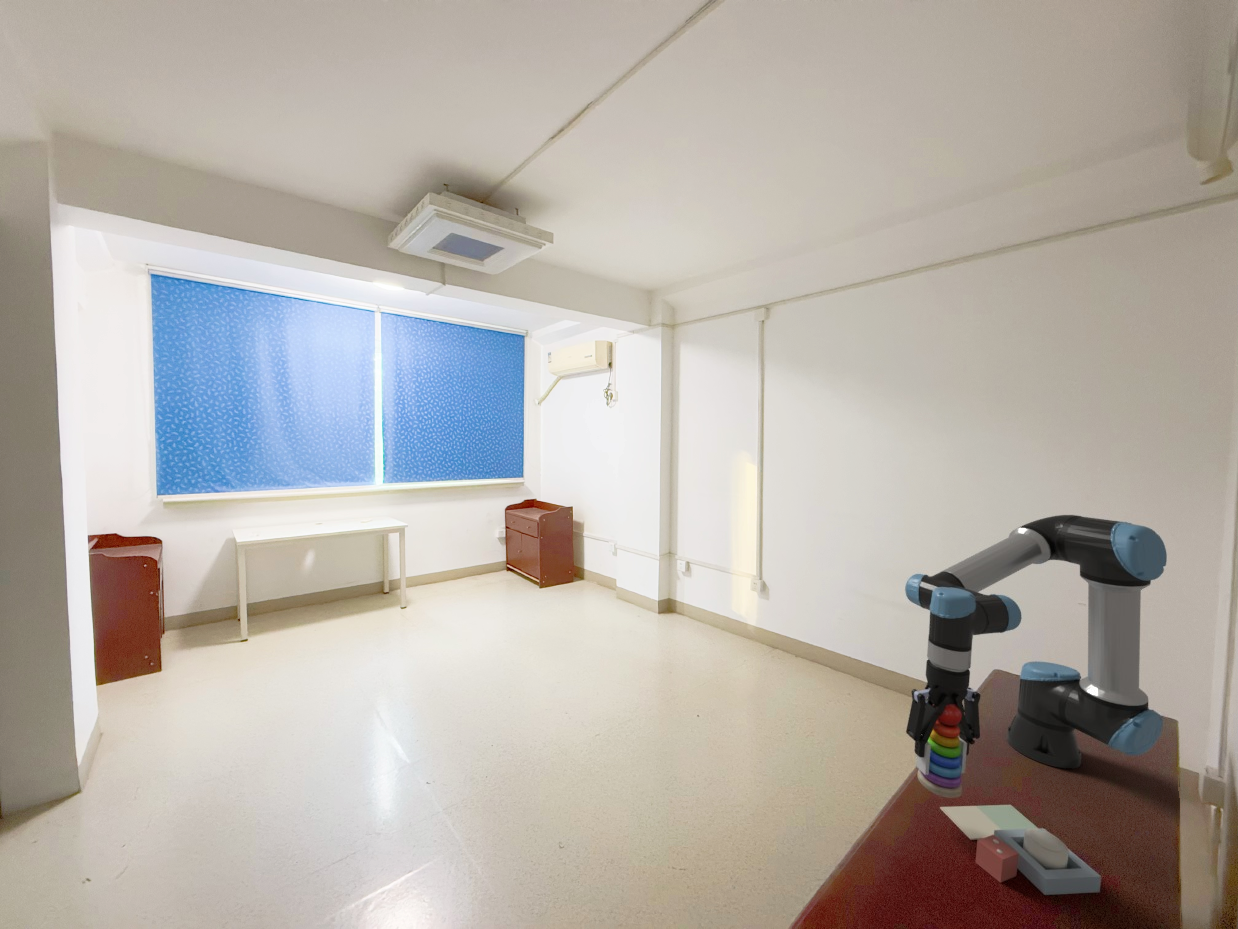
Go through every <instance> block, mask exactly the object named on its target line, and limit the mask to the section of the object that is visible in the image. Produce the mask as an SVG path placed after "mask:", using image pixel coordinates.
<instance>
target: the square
mask: <svg viewBox="0 0 1238 929" xmlns="http://www.w3.org/2000/svg"><path fill="white" fill-rule="evenodd" d="M976 806H977V805H963V806H961V805H959V806H958V805H957V806H956V805H955V806H940V807H939V809H940V810H941V811H942V812H943V813H944V814H945V815H946V816H947V817H948V818H949V819H950V821H951V822H953V823H954V824H955V825H956V826H957V828H959V830H960V831H961V832H963V833H964V835H965V836H966V837H968V839H969V840H970V841H972V840H973V841H975V840H977V841H978V840H980V839H983V838H985V837H988V836H991V835H994V830H1001V829H1000V828H999V827H998V826H997V825H996V824H995V823H994V822H992V821H991V820H990V819H989V818H988V817H987V816H986V815H985V814H984V813H983V812H982V811H981V810H979V809H978V808H977V807H976Z"/></svg>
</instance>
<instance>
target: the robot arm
mask: <svg viewBox="0 0 1238 929" xmlns="http://www.w3.org/2000/svg"><path fill="white" fill-rule="evenodd" d="M1167 554H1168V553H1167V549H1166V546H1165V543H1164V541H1163V539H1162V537H1161V536H1160V535H1159V534H1158V533H1157V532H1156V531H1155V530H1153V528H1150V527H1147V526H1145V525H1139V524H1133V523H1131V522H1127V521H1118V520H1112V519H1111V520H1110V519H1104V518H1095V517H1087V516H1082V515H1076V514H1060V515H1052V516H1049V517H1048V516H1047V517H1044V518H1040V519H1037V520H1034V521H1031V522H1027V523H1025V524H1023V525H1021V526H1018V527H1017V528H1014V529H1013V530H1012V531H1011V532H1010V533H1009V535H1008V537H1006V538H1005V539H1002V540H1001V541H999V542H997V543H994V544H992V545H991V546H989V547H987V548H985V549H983V550H981V551H979V552H977V553H975V554H973V555H971V556H969V557H967V558H965V559H963V560H961V561H959V562H957V563H956V564H954V565H951V566H949V567H948V568H945V569H943V570H941V571H939V572H938V573H935V574H934V575H931V576H929V575H928V574H923V573H922V574H921V573H914V574H912V575H911V576H910V577H909V578H907V581H906V583H905V587H904V592H905V596H906V598H907V599H908V600H909V602H911V603H913V604H915V605H916V606H919V607H920V608H922V609H925V610H928V611H929V626H928V628H929V629H928V638H927V654H926V657H927V660H926V664H925V665H926V666H925V667H926V668H925V678H926V680H927V681H926V682H927V683H926V686H924V689H922V690H917V689H916V688H913V689H911V698H912V701H911V705H910V711H909V716H908V721H907V726H906V731H905V733H906V734H907V736H909V737H910V738H911V739H912V740H913V741H914V753H915V755H916V764H915V765H916V766H915V767H916V768H917V769H918V770H919V769H920V770H921V771H922V772H923V773H924V774H925V775H929V762H930V749H931V744H929V743H928V742H927V741H928V739H929V737H930V735H931V732H932V730H933V728H934V726H935V724H936V721H937V719H938V717H939V715H942V713H943V711H944V709H945V707H946V705H949V704H955V705H956V706H957V708H958V709H959V710H960V711H961V713H962V718H961V721H960V722H959V723H958V724H957V726H958V727H959V729H960V734H959V736H958V737H959V739H960V744H959V747H960V749H961V753H960V755H959V756H960V758H961V764H960V766H961V768H962V773H961V774H966V765H967V763H966V762H967V756H969V753H970V745H974V744H975V742H976V741H975V740H974V739H977V740H979V739H980V738H981V730H980V715H979V714H980V710H979V709H980V708H979V702H980V700H981V697H982V696H981V694H980V693H979V692H977V691H976V690H974V689H973V688H971V687H970V677H971V676H970V675H971V671H970V669H971V665H972V651H973V638H974V636H980V635H986V634H987V635H988V634H999V633H1000V634H1004V633H1005V632H1008V631H1011V630H1012V631H1014V630H1015V629H1017V628H1019V626H1020V624H1021V621H1022V612H1021V609H1020V606H1019V605H1018V604H1017V602H1016V601H1015V600H1014V599H1012V598H1011V597H1009V596H1008V595H1003V594H995V593H993V594H992V593H990V594H984V593H981V591H984V590H985V589H987V588H989V587H992V586H993V585H994V584H996V583H998V582H1000V581H1003V580H1004V579H1005V578H1008V577H1009V576H1012V575H1014V574H1015V573H1017V572H1019V571H1020V570H1023V569H1024V568H1027V567H1029V566H1030V565H1041V564H1044V563H1047V562H1049V561H1063V562H1066V563H1067V562H1068V563H1071V564H1075V565H1079V577H1080V579H1083V581H1085V582H1086V583H1088V584H1087V585H1088V596H1087V597H1088V598H1087V600H1088V601H1087V602H1088V606H1087V607H1088V608H1087V609H1088V610H1087V622H1088V624H1087V627H1088V628H1087V630H1088V631H1087V676H1085V677H1083V678H1082V676H1081V673H1080V672H1079V671H1078V670H1077V669H1075V668H1072V667H1069V666H1067V665H1063V664H1059V663H1054V662H1050V661H1049V662H1046V661H1028V662H1026V663H1024V664H1023V665H1022V666H1021V672H1020V675H1019V679H1020V680H1019V688H1018V700H1017V710H1016V714H1015V716H1014V718H1013V719H1012V721H1011V723H1010V724H1009V726H1008V727H1007V730H1006V737H1005V738H1006V741H1007V743H1008V744H1009V745H1010V746H1011V747H1012V748H1013V749H1014V750H1015V751H1017V752H1019V753H1021V755H1024V756H1025V757H1027V758H1029V759H1032V760H1034V761H1036V762H1038V763H1040V764H1044V765H1047V766H1051V767H1055V768H1060V769H1066V768H1072V769H1077V768H1080V766H1081V763H1082V753H1081V750H1080V748H1079V744H1078V739H1077V736H1076V731H1078V732H1081V733H1083V734H1085V735H1087V736H1089V737H1090V738H1093V739H1095V740H1097V741H1099V742H1100V743H1103V744H1105V745H1106V746H1108V747H1109V748H1111V749H1113V750H1117V751H1119V752H1122V753H1124V754H1125V755H1127V756H1132V757H1133V756H1134V757H1137V756H1142V755H1143V754H1145V753H1147V752H1148V751H1150V750H1151V749H1152V748H1153V747H1154V745H1155V744H1156V743H1157V742H1158V740H1159V738H1160V736H1161V734H1162V731H1163V726H1164V722H1163V721H1164V720H1163V717H1162V716H1161V715H1160V714H1159V713H1158V712H1157V711H1155V710H1154V709H1150V707H1149V696H1148V694H1147V693H1145V691H1143V690H1142V689H1141V688H1140V658H1141V657H1140V651H1141V650H1140V649H1141V648H1140V646H1141V645H1140V644H1141V643H1140V642H1141V599H1142V597H1141V593H1142V592H1141V591H1143V590H1144V589H1146V588H1147V587H1149V586H1151V585H1152V584H1151V583H1152V582H1151V581H1155V580H1157V579H1158V578H1160V577H1161V575H1162V574H1163V573H1164V571H1165V568H1164V567H1166V566H1167V561H1168V560H1167V556H1168V555H1167ZM933 705H935V706H936V707H937V708H936V707H935V706H933ZM1075 730H1076V731H1075Z"/></svg>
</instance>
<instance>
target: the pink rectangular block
mask: <svg viewBox="0 0 1238 929" xmlns="http://www.w3.org/2000/svg"><path fill="white" fill-rule="evenodd" d="M1018 855H1019V853H1018V852H1016V851H1015V850H1014V849H1012V848H1011V847H1009V846H1008V845H1007V844H1005V843H1004V842H1003V841H1001V840H1000V839H999V838H997V837H996V836H994V835H991V836H988V837H985V838H983V839H980V840H977V841H976V852H975V861H974V862H975V864H976V865H978V867H980V868H982V870H984V871H986V872H987V873H988V874H989V875H990V876H992V878H994V879H995V880H996V881H998V882H999V883H1003V882H1006V881H1008V880H1010V879H1013V878H1015V877H1017V872H1018V868H1017V865H1018Z"/></svg>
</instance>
